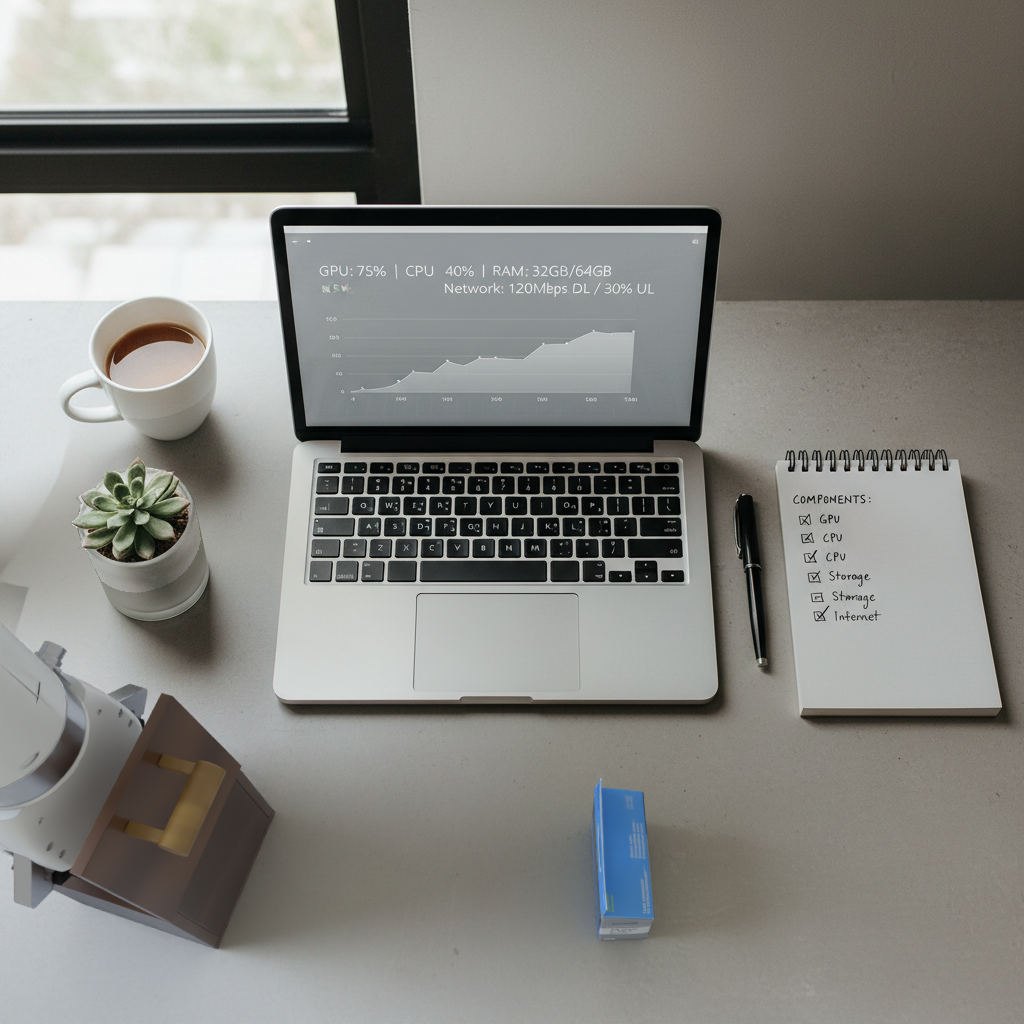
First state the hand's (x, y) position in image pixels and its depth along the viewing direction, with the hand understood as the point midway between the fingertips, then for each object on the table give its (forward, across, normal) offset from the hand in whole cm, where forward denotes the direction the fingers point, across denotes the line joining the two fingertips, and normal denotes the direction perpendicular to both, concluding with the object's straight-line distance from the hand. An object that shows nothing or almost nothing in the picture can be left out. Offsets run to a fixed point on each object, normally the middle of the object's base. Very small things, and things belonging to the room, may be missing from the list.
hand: (123, 818), depth 69 cm
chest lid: (-9, 0, +6) cm, 11 cm away
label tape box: (+9, -8, +34) cm, 36 cm away
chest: (+9, 0, +1) cm, 10 cm away
